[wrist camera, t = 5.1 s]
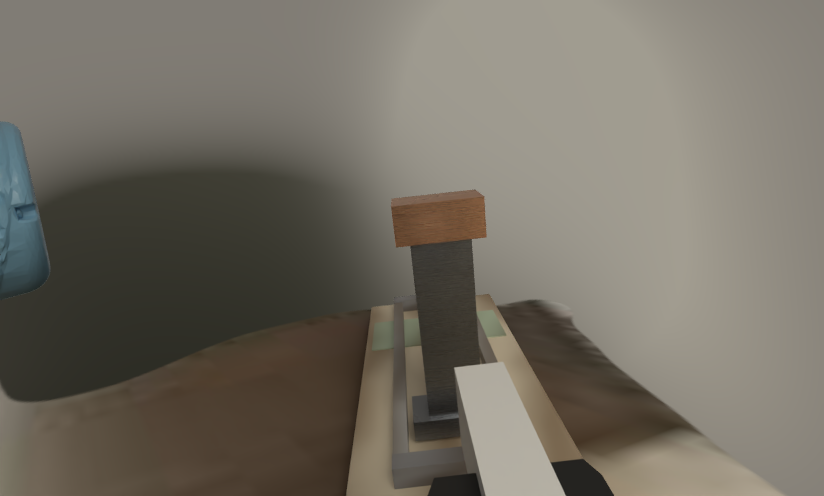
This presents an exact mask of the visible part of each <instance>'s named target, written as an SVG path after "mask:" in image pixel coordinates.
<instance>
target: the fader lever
mask: <svg viewBox="0 0 824 496" xmlns="http://www.w3.org/2000/svg"><path fill="white" fill-rule="evenodd" d="M391 208H392V217H393V226H394V234H395V242H396V247H404V246H410V247H411V256H412V266H413V275H414V283H415V293H416V302H417V311H418V320H419V329H420V338H421V347H422V356H423V365H424V374H425V383H426V392H427V395H420V396H412V407H413V423H414V432H415V440H416V441H423V440H432V439H441V438H449V437H458V436H461V435H460V425H459V414H458V404H457V393H456V383H455V372H454V367H463V366H471V365H480V354H479V340H478V325H477V311H476V296H475V283H474V268H473V253H472V239H476V238H485V237H486V222H485V221H486V220H485V203H484V196H483V195H481V194H480V193H479V192H477V191H476V190H467V191H458V192H448V193H440V194H432V195H431V194H430V195H421V196H412V197H403V198H394V199H392V202H391Z"/></svg>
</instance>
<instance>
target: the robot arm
mask: <svg viewBox="0 0 824 496" xmlns="http://www.w3.org/2000/svg"><path fill="white" fill-rule="evenodd" d="M49 274H50V263H49V258H48V253H47V248H46V243H45V239H44V234H43V230H42V225H41V220H40V215H39V211H38V206H37V202H36V198H35V193H34V188H33V184H32V180H31V175H30V171H29V166H28V162H27V157H26V153H25V148H24V144H23V141H22V137H21V132H20V130H19V129H18V127H16V126H15V125H14V124H11V123H9V122H0V300H2V299H6V298H9V297H13V296H17V295H21V294H24V293H28V292H31V291H33V290H36V289H38V288H39V287H40V286H42V285H43V284H44V283H45V282H46V280H47V278H48V277H49ZM454 372H455V383H456V393H457V404H458V414H459V425H460V435H461V444H462V449H463V454H464V459H465V463H466V468H467V473H468V474H462V475H453V476H445V477H437V478H434V479H433V482H432V485H431V487H430V490H429V493H428V495H427V496H614V494H613V493H612V491H611V489H610V488H609V486H608V485H607V483H606V481H605V480H604V478H603V476H602V475H601V474H600V473H599V472H598V471H597V470H595V469H594V468H593V467H592V466H591V465H589V464H588V463H587V462H586V461H585V460H584V459H576V460H567V461H559V462H550V461H549V459H548V457H547V454H546V452H545V450H544V448H543V446H542V444H541V442H540V439H539V437H538V435H537V433H536V431H535V429H534V427H533V425H532V422H531V420H530V418H529V416H528V414H527V412H526V410H525V407H524V405H523V403H522V401H521V399H520V397H519V395H518V392H517V390H516V388H515V386H514V384H513V382H512V380H511V377H510V375H509V373H508V371H507V369H506V367H505V365H504V363H503V362H497V363H488V364H480V365H471V366H463V367H454Z"/></svg>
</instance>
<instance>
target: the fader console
mask: <svg viewBox="0 0 824 496" xmlns="http://www.w3.org/2000/svg"><path fill="white" fill-rule="evenodd" d="M476 311H477V325H478V340H479V354H480V364H488V363H497V362H503V363H504V365H505V367H506V369H507V371H508V373H509V375H510V377H511V380H512V382H513V384H514V386H515V388H516V390H517V392H518V395H519V397H520V399H521V401H522V403H523V405H524V407H525V410H526V412H527V414H528V416H529V418H530V420H531V422H532V425H533V427H534V429H535V431H536V433H537V435H538V437H539V439H540V442H541V444H542V446H543V448H544V450H545V452H546V454H547V457H548V459H549V461H550V462H559V461H567V460H576V459H583V458H582V456H581V454H580V452H579V451H578V449H577V447H576V445H575V444H574V442H573V440H572V438H571V437H570V435H569V433H568V431H567V430H566V428H565V426H564V424H563V423H562V421H561V419H560V417H559V416H558V414H557V412H556V410H555V409H554V407H553V405H552V403H551V402H550V400H549V398H548V396H547V395H546V393H545V391H544V389H543V388H542V386H541V384H540V382H539V381H538V379H537V377H536V375H535V373H534V372H533V370H532V368H531V366H530V365H529V363H528V361H527V359H526V358H525V356H524V354H523V352H522V351H521V349H520V347H519V345H518V344H517V342H516V340H515V338H514V337H513V335H512V333H511V331H510V330H509V328H508V326H507V324H506V323H505V321H504V319H503V317H502V316H501V314H500V312H499V310H498V309H497V307H496V305H495V303H494V302H493V300H492V298H491V296H490V295H489V294H485V295H476ZM420 395H427V392H426V383H425V374H424V365H423V356H422V347H421V338H420V329H419V320H418V311H417V302H416V295H410V296H402V297H394V305H387V306H378V307H372V310H371V317H370V325H369V332H368V339H367V347H366V354H365V361H364V368H363V376H362V383H361V390H360V398H359V405H358V412H357V419H356V427H355V434H354V441H353V449H352V456H351V463H350V470H349V478H348V485H347V492H346V496H427V495H428V493H429V490H430V487H431V485H432V482H433V479H434V478H437V477H445V476H453V475H462V474H468V473H467V468H466V463H465V459H464V454H463V449H462V444H461V436H458V437H449V438H441V439H432V440H423V441H416V440H415V432H414V423H413V407H412V396H420Z"/></svg>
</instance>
